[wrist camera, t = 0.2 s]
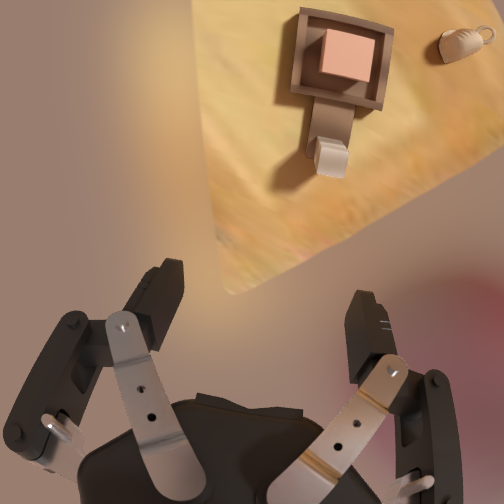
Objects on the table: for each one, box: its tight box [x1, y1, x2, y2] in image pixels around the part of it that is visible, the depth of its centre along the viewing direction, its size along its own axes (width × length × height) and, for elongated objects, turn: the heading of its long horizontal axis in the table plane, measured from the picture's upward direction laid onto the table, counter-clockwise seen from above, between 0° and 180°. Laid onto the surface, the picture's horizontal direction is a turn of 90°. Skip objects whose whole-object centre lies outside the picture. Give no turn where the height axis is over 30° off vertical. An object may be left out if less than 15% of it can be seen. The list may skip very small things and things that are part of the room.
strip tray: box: [290, 7, 394, 179], centre depth 27 cm, size 19×11×7 cm, turn 174°
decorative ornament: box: [439, 25, 496, 63], centre depth 20 cm, size 4×8×5 cm, turn 123°
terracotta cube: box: [318, 29, 375, 82], centre depth 25 cm, size 5×5×5 cm
